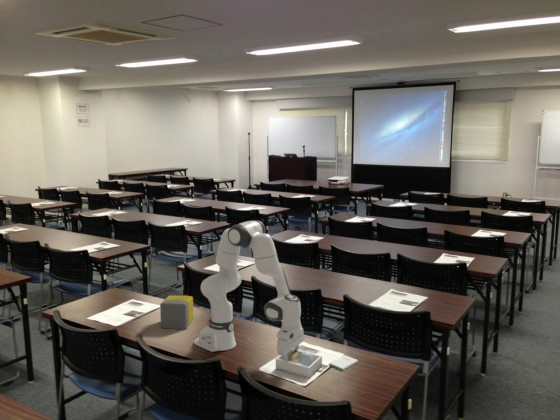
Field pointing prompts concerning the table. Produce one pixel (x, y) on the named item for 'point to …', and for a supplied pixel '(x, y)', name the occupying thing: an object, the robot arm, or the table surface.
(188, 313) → the grey-faced yellow box
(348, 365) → the external hard drive
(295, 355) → the maple cube
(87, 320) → the table surface
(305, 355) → the pale blue cylinder
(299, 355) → the tote
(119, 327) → the table surface
